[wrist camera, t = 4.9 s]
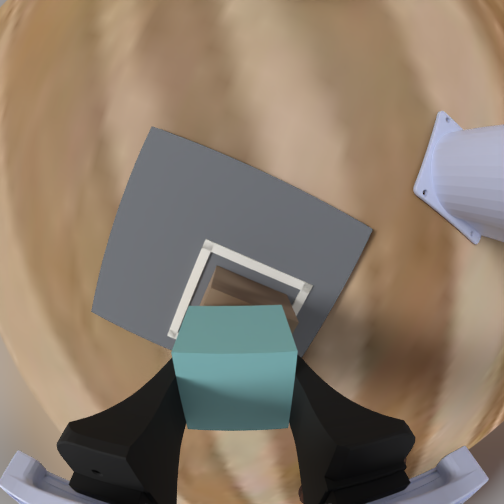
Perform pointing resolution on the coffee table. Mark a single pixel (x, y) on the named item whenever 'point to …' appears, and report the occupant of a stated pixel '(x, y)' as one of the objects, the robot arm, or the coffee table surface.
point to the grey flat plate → (218, 240)
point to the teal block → (235, 367)
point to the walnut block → (244, 294)
